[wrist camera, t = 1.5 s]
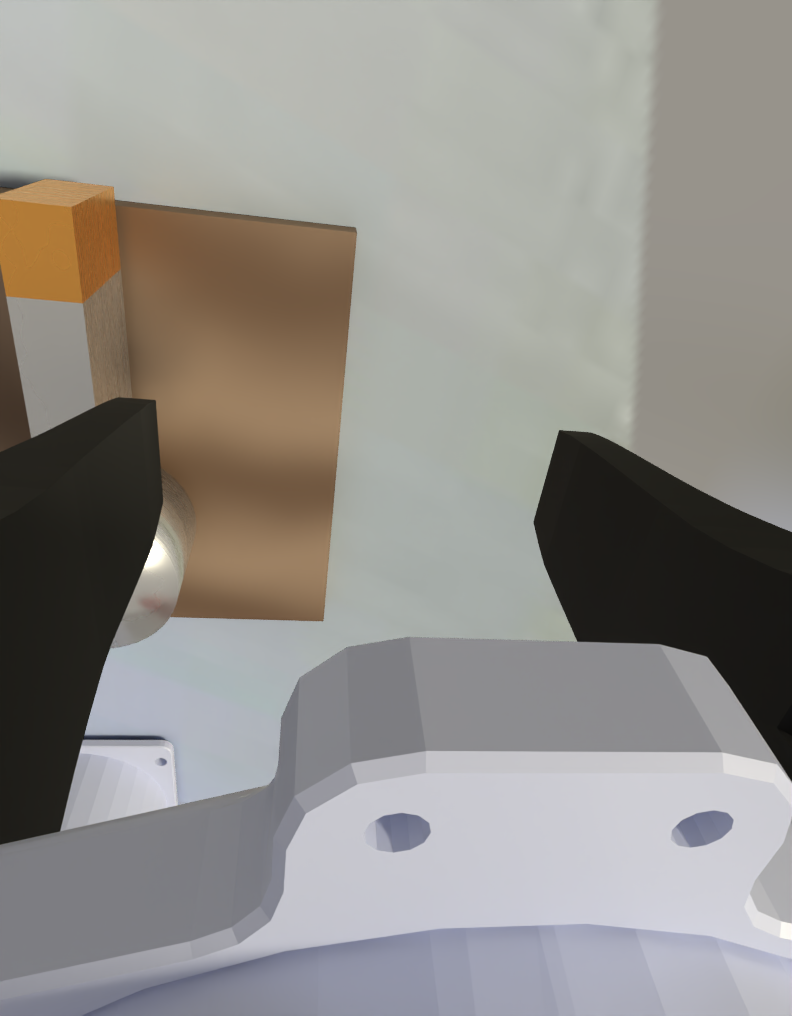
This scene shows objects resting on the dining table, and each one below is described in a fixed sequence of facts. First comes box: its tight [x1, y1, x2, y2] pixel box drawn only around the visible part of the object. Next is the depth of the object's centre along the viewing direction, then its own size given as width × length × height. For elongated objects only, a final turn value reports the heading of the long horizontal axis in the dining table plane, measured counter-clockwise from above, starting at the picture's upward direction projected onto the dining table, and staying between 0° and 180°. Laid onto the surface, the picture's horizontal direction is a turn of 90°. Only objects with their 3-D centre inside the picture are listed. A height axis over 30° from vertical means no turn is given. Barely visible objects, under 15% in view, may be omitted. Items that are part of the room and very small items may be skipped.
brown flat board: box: [0, 187, 357, 621], centre depth 21 cm, size 14×18×1 cm
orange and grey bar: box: [0, 179, 196, 648], centre depth 18 cm, size 12×5×3 cm, turn 173°
